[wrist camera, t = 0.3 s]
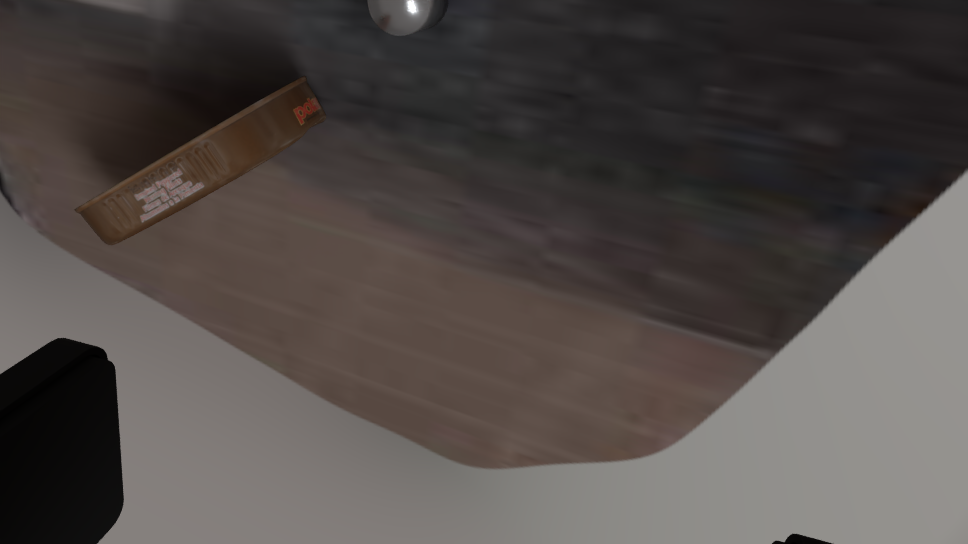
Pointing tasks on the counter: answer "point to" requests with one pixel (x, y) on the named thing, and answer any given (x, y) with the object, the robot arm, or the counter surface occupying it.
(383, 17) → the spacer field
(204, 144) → the tin
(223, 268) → the counter surface
